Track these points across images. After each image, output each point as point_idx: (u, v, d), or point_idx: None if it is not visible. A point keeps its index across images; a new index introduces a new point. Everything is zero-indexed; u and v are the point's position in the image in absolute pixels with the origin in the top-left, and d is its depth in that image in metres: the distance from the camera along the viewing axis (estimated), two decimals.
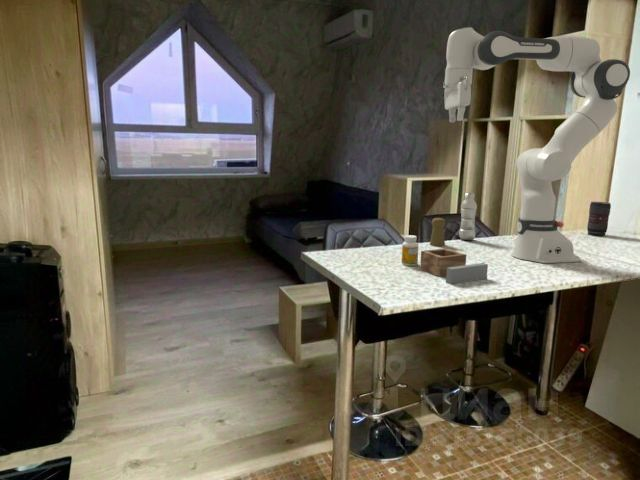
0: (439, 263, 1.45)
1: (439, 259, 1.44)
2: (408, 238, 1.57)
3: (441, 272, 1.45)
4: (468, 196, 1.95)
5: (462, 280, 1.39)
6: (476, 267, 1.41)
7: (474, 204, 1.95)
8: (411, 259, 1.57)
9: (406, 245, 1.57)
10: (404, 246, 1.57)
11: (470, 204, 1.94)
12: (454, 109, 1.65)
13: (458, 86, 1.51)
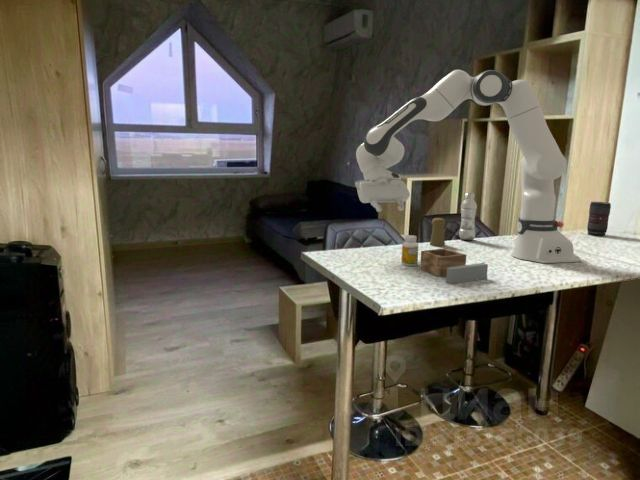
0: (439, 263, 1.45)
1: (439, 259, 1.44)
2: (408, 238, 1.57)
3: (441, 272, 1.45)
4: (468, 196, 1.95)
5: (462, 280, 1.39)
6: (476, 267, 1.41)
7: (474, 204, 1.95)
8: (411, 259, 1.57)
9: (406, 245, 1.57)
10: (404, 246, 1.57)
11: (470, 204, 1.94)
12: (399, 199, 1.71)
13: None
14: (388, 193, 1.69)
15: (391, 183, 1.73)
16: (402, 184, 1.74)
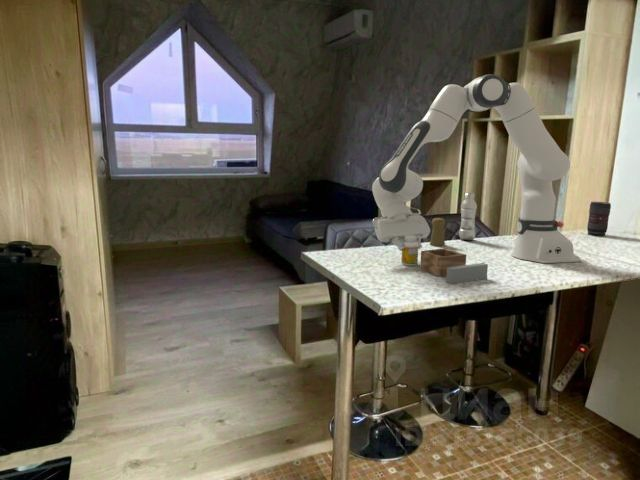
0: (439, 263, 1.45)
1: (439, 259, 1.44)
2: (408, 238, 1.57)
3: (441, 272, 1.45)
4: (468, 196, 1.95)
5: (462, 280, 1.39)
6: (476, 267, 1.41)
7: (474, 204, 1.95)
8: (411, 259, 1.57)
9: (406, 245, 1.57)
10: None
11: (470, 204, 1.94)
12: None
13: None
14: (408, 230, 1.60)
15: (411, 219, 1.64)
16: (422, 220, 1.65)
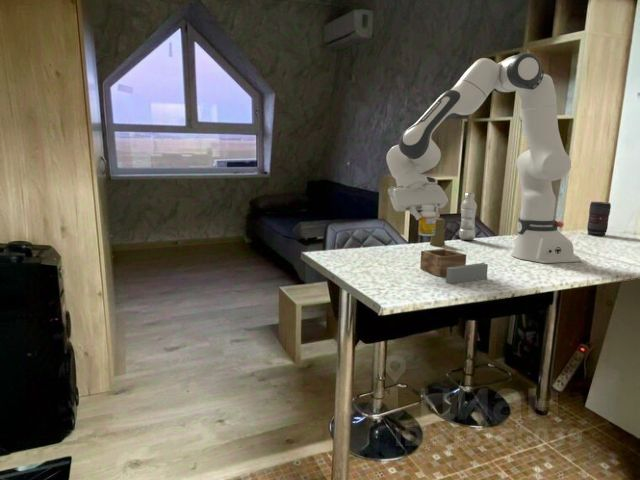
0: (439, 263, 1.45)
1: (439, 259, 1.44)
2: (425, 207, 1.51)
3: (441, 272, 1.45)
4: (468, 196, 1.95)
5: (462, 280, 1.39)
6: (476, 267, 1.41)
7: (474, 204, 1.95)
8: (428, 229, 1.51)
9: (423, 214, 1.51)
10: None
11: (470, 204, 1.94)
12: None
13: None
14: (425, 199, 1.54)
15: (427, 188, 1.57)
16: (439, 189, 1.59)
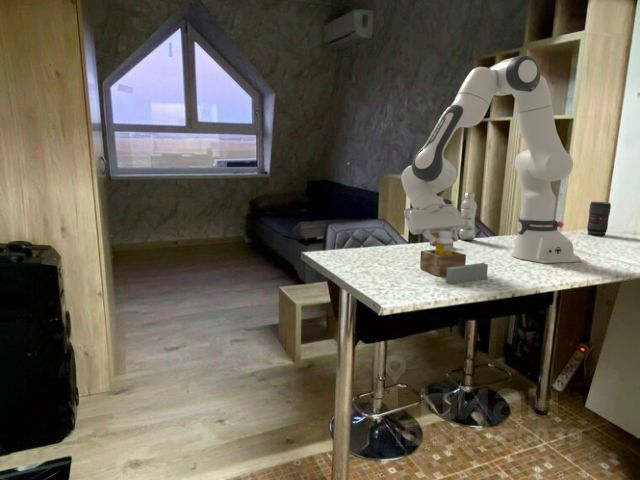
0: (439, 263, 1.45)
1: (439, 259, 1.44)
2: (443, 234, 1.47)
3: (441, 272, 1.45)
4: (468, 196, 1.95)
5: (462, 280, 1.39)
6: (476, 267, 1.41)
7: (474, 204, 1.95)
8: None
9: (441, 241, 1.47)
10: (438, 242, 1.48)
11: (470, 204, 1.94)
12: (452, 228, 1.52)
13: None
14: (441, 222, 1.51)
15: (444, 210, 1.54)
16: (455, 211, 1.55)
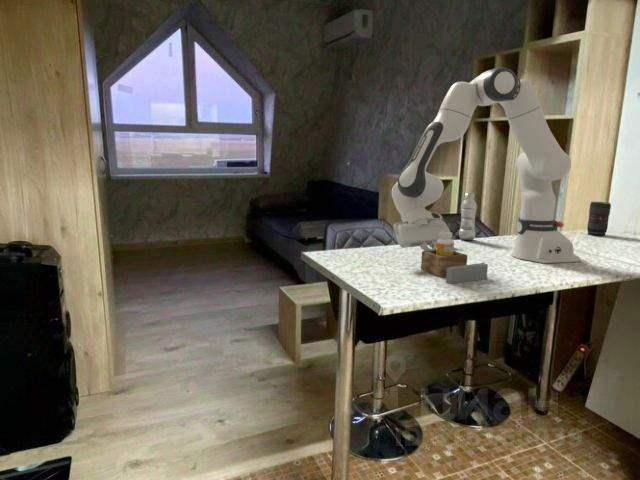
0: (440, 263, 1.44)
1: (440, 259, 1.44)
2: (443, 234, 1.47)
3: (442, 272, 1.44)
4: (468, 196, 1.95)
5: (462, 280, 1.39)
6: (476, 267, 1.41)
7: (474, 204, 1.95)
8: None
9: (441, 242, 1.47)
10: (439, 243, 1.48)
11: (470, 204, 1.94)
12: (431, 242, 1.57)
13: None
14: (429, 236, 1.57)
15: (432, 224, 1.60)
16: (443, 225, 1.62)
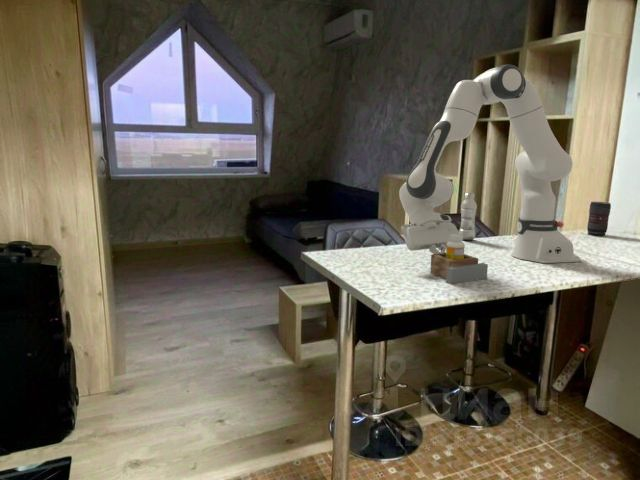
0: None
1: (450, 263, 1.40)
2: (454, 237, 1.42)
3: None
4: (468, 196, 1.95)
5: (462, 280, 1.39)
6: (476, 267, 1.41)
7: (474, 204, 1.95)
8: None
9: (452, 245, 1.43)
10: (449, 246, 1.43)
11: (470, 204, 1.94)
12: (440, 245, 1.53)
13: None
14: (438, 238, 1.53)
15: (441, 226, 1.56)
16: (452, 227, 1.57)
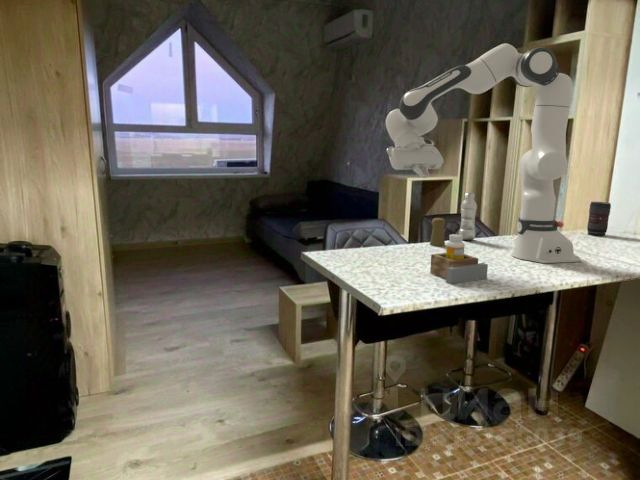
0: None
1: (450, 263, 1.40)
2: (454, 237, 1.43)
3: None
4: (468, 196, 1.95)
5: (462, 280, 1.39)
6: (476, 267, 1.41)
7: (474, 204, 1.95)
8: None
9: (451, 245, 1.43)
10: (449, 246, 1.43)
11: (470, 204, 1.94)
12: (423, 165, 1.63)
13: None
14: (422, 159, 1.62)
15: (424, 149, 1.66)
16: (435, 150, 1.67)
